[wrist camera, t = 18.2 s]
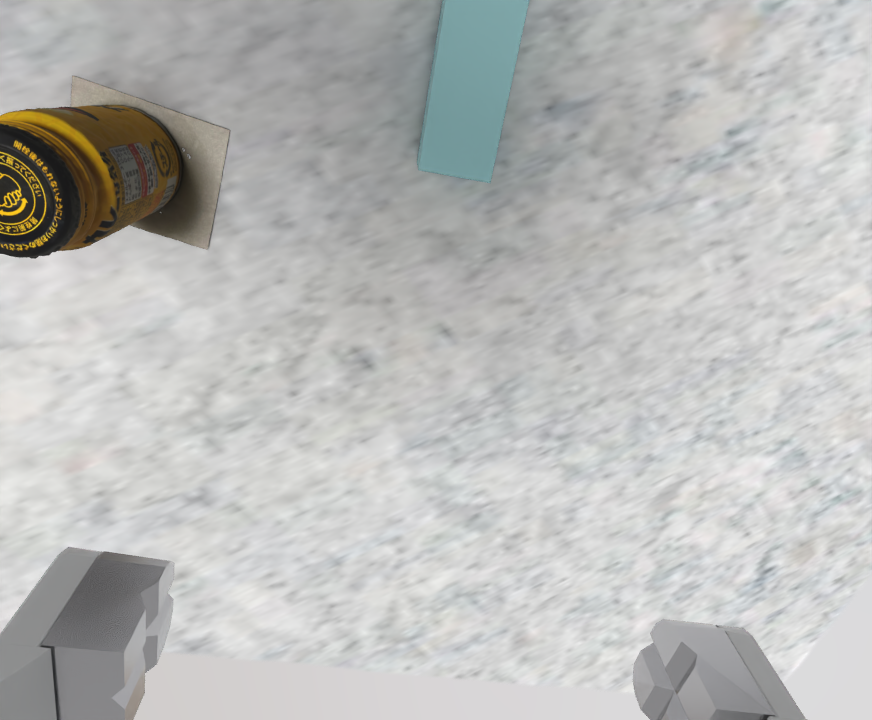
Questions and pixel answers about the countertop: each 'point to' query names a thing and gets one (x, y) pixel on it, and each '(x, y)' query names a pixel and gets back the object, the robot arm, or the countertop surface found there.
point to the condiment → (105, 172)
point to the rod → (470, 86)
